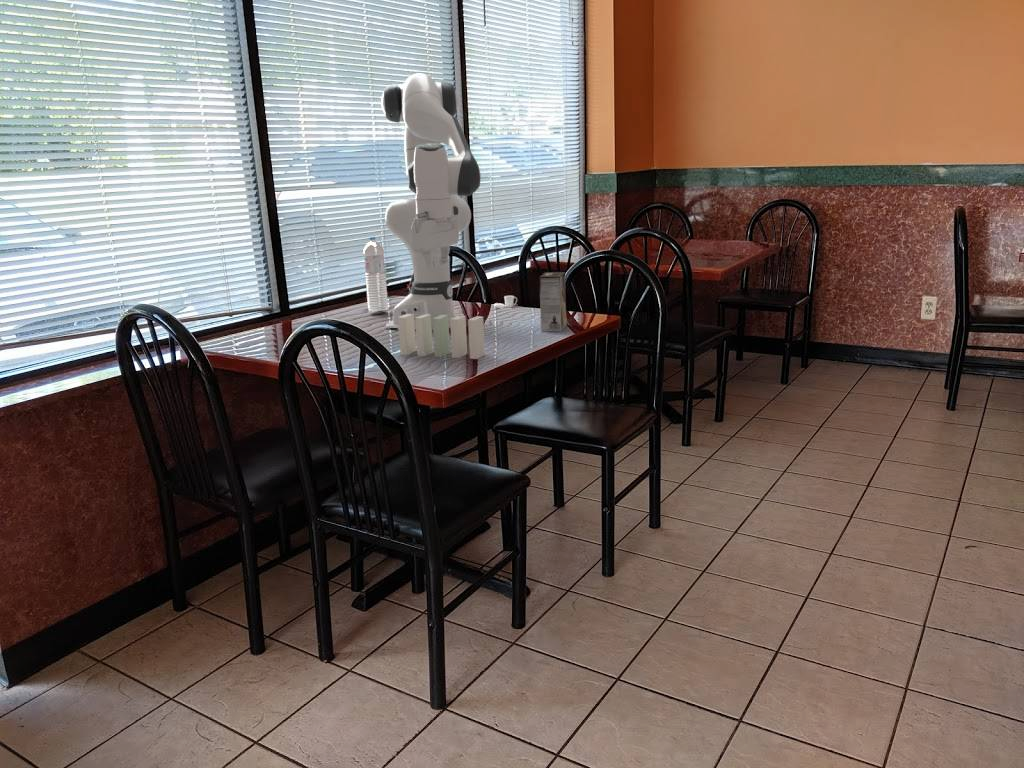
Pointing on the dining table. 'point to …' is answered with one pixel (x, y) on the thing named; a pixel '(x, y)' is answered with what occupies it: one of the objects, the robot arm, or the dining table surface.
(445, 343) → the domino
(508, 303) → the teacup and saucer
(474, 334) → the domino
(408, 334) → the domino
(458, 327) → the domino
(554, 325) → the coffee box
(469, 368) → the dining table surface
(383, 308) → the water bottle
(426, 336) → the domino
